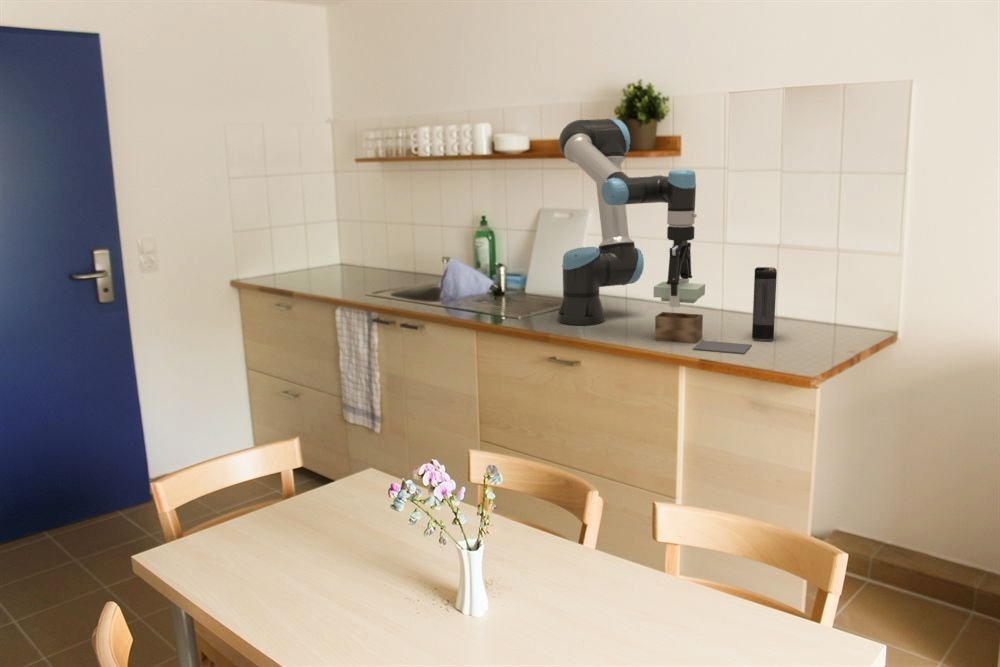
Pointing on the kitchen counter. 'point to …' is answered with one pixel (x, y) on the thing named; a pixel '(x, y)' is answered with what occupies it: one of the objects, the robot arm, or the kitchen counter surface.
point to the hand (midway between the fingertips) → (679, 303)
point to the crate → (678, 327)
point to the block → (687, 292)
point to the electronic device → (764, 304)
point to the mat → (722, 347)
